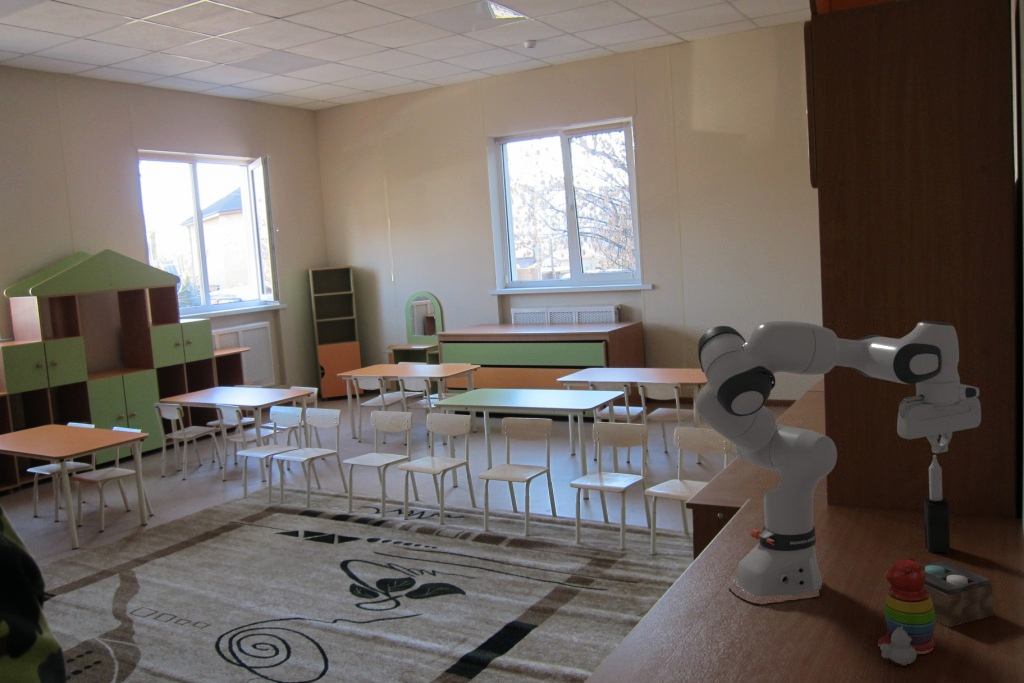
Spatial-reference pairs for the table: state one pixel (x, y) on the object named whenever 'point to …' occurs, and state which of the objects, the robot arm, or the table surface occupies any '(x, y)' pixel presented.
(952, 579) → the grey peg
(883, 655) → the rubber duck
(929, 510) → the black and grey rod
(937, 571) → the teal peg
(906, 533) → the table surface
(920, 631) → the stacking bear
